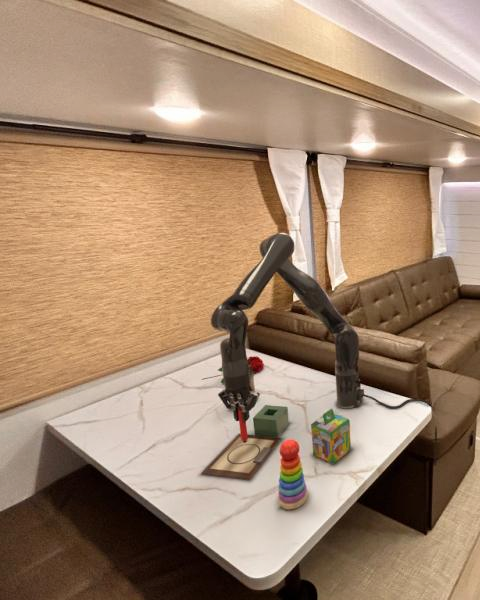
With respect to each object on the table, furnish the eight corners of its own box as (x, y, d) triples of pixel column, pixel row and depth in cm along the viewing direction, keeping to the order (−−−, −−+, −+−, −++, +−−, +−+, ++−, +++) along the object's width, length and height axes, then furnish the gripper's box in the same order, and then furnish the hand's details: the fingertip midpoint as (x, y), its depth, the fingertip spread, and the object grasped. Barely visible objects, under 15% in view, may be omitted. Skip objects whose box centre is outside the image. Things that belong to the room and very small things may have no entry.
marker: (249, 440, 123) (245, 404, 120) (246, 444, 121) (241, 408, 118) (243, 439, 123) (239, 404, 120) (240, 443, 121) (235, 407, 118)
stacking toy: (274, 511, 100) (267, 450, 95) (283, 488, 107) (277, 431, 103) (304, 510, 100) (298, 450, 95) (310, 488, 107) (306, 431, 103)
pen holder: (289, 423, 139) (287, 406, 137) (277, 437, 131) (276, 420, 129) (267, 421, 141) (265, 404, 139) (254, 435, 132) (252, 418, 130)
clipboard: (281, 439, 130) (281, 436, 130) (250, 480, 111) (249, 476, 111) (239, 435, 132) (238, 431, 132) (201, 474, 113) (200, 470, 113)
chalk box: (333, 465, 117) (330, 423, 113) (312, 455, 122) (309, 415, 118) (352, 449, 124) (350, 409, 121) (331, 440, 129) (329, 402, 125)
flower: (203, 366, 161) (265, 350, 185) (195, 371, 167) (256, 355, 190) (209, 387, 160) (271, 368, 184) (201, 391, 166) (261, 372, 189)
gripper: (207, 374, 113) (215, 425, 118) (249, 377, 111) (255, 429, 115) (223, 364, 120) (229, 412, 125) (262, 367, 118) (268, 415, 123)
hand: (242, 420), depth 120 cm, fingers closed on marker, 2 cm apart
